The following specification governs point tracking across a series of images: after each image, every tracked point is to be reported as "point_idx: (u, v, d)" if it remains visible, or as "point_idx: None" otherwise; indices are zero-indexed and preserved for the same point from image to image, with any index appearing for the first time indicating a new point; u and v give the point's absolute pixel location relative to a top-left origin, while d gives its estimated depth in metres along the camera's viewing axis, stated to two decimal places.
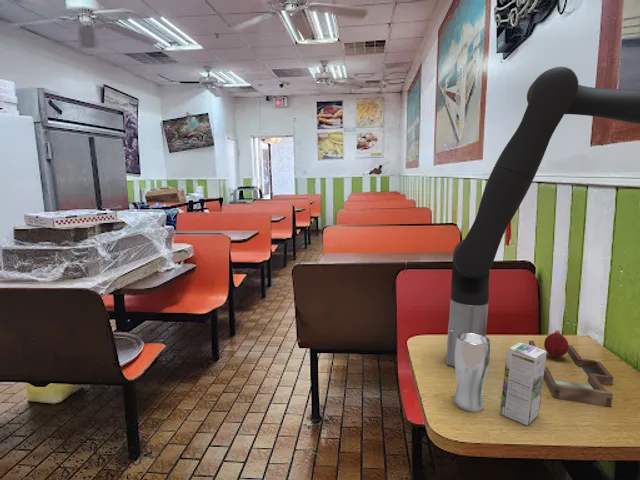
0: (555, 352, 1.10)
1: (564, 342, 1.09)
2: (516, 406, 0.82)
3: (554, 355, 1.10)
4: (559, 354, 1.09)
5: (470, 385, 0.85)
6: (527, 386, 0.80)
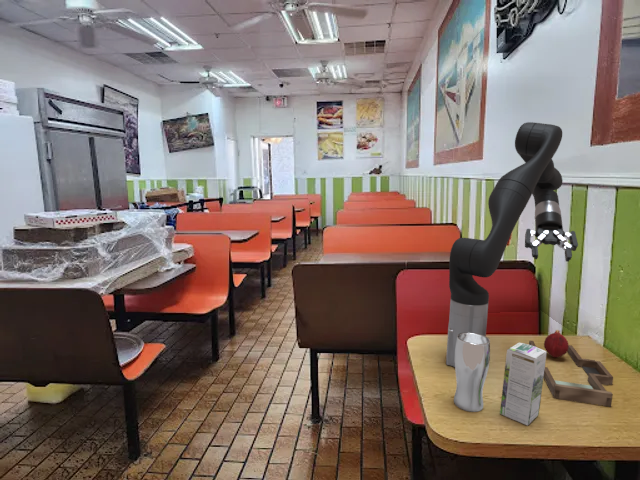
0: (555, 352, 1.10)
1: (564, 342, 1.09)
2: (516, 406, 0.82)
3: (554, 355, 1.10)
4: (559, 354, 1.09)
5: (470, 385, 0.85)
6: (527, 386, 0.80)
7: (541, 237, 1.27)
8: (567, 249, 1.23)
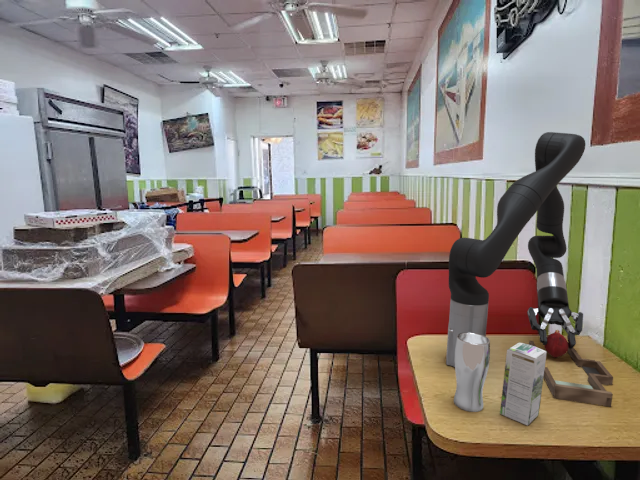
0: (555, 352, 1.10)
1: (564, 342, 1.09)
2: (516, 406, 0.82)
3: (554, 355, 1.10)
4: (559, 354, 1.09)
5: (470, 385, 0.85)
6: (527, 386, 0.80)
7: (547, 318, 1.13)
8: (570, 334, 1.10)
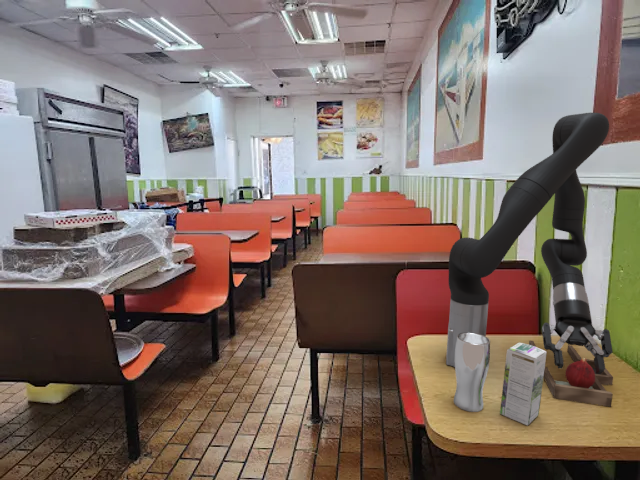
0: (578, 384, 0.91)
1: (592, 374, 0.91)
2: (516, 406, 0.82)
3: None
4: (583, 387, 0.91)
5: (470, 385, 0.85)
6: (527, 386, 0.80)
7: (565, 337, 0.95)
8: (598, 357, 0.92)
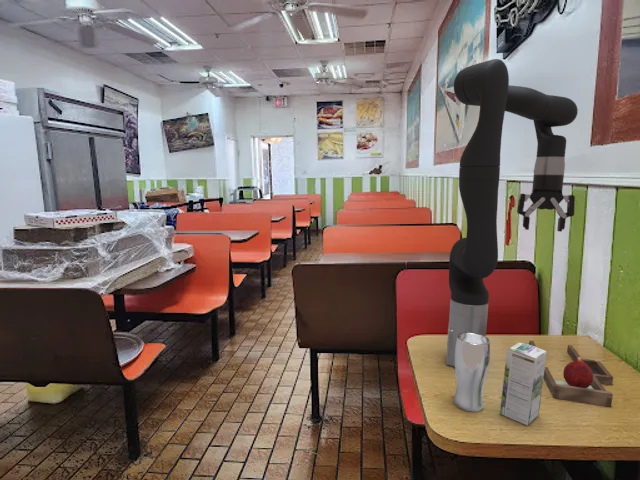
0: (577, 384, 0.92)
1: (589, 373, 0.91)
2: (516, 406, 0.82)
3: None
4: (582, 387, 0.92)
5: (470, 385, 0.85)
6: (527, 386, 0.80)
7: (535, 207, 1.16)
8: (561, 220, 1.15)
